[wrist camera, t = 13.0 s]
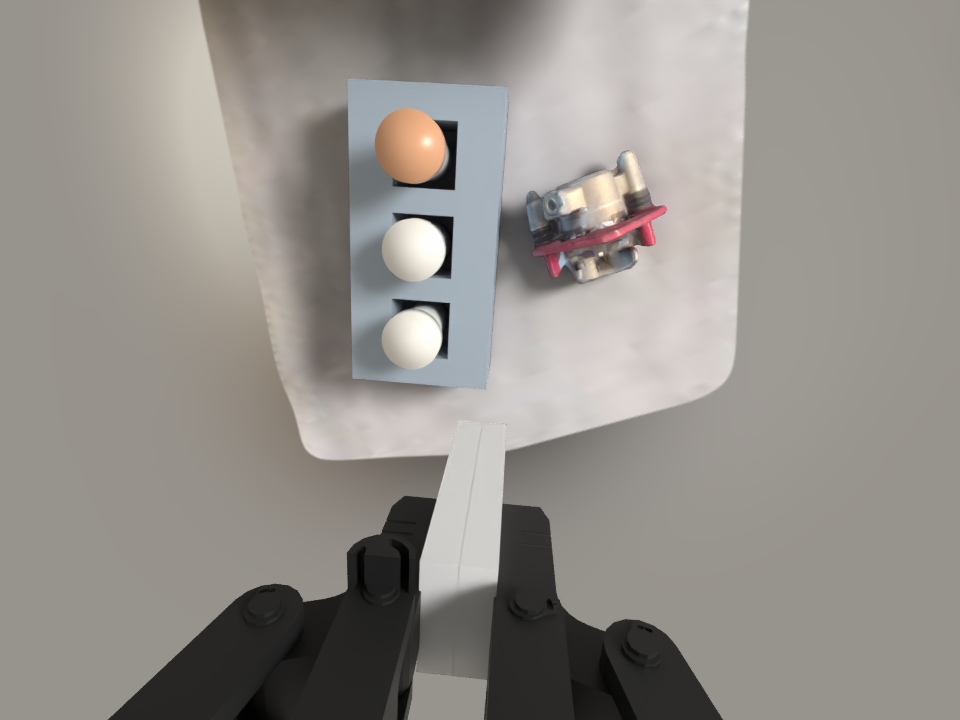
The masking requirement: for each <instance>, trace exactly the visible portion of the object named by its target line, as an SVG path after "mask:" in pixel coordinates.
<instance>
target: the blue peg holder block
mask: <svg viewBox="0 0 960 720" xmlns="http://www.w3.org/2000/svg"><path fill="white" fill-rule="evenodd" d="M403 108H412V109H417V110H420V111H422V112H424V113H425V114H427V115H428V116H429V117H431V118H432V119H433V120H434V121H435V122H436V123H437V124H438V126H439V127H440V129H441V130H442V132H443V135H444V137H445V141H446V142H447V143H448V145H449V146H450V149H451V152H452V164H451V167H450V169H449V171H448V172H447V174H446V175H445V176H443V177H442V178H440V179H438V180H433V181H429V180H428V181H426V182H423V183H419V184H411V183H405V182H401V181H398V180H396V179H394V178H392V177H391V176H389V175H388V174H387V173H386V172H385V171H384V170H383V168H382V167H381V165H380V163H379V161H378V159H377V156H376V152H375V137H376V133H377V130H378V127H379V125H380V124H381V122H382V121H383V120H384V118H385V117H387V116H388V115H389V114H390V113H392V112H394V111H396V110H399V109H403ZM507 118H508V95H507V87H502V86H483V85H464V84H446V83H427V82H408V81H389V80H370V79H351V78H348V142H349V206H350V269H351V333H352V378H354V379H366V380H377V381H389V382H401V383H413V384H425V385H437V386H449V387H461V388H473V389H485V390H486V385H487V379H488V373H489V368H490V357H491V343H492V329H493V315H494V301H495V287H496V273H497V259H498V245H499V231H500V217H501V203H502V189H503V175H504V161H505V146H506V132H507ZM411 218H420V219H424V220H427V221H429V222H437V223H440V224H441V225H443V226H444V227H445V228H446V229H447V230H448V232H449V234H450V237H451V249H450V251H449V253H448V254H447V256H446V257H445V259H444V262H443V264H442V266H441V267H440V268H439V270H438V271H437V272H436V273H434V274H433V275H432V276H431V277H429V278H427V279H425V280H423V281H418V282H410V281H405V280H402V279H400V278H398V277H397V276H395V275H394V274H393V273H392V272H391V271H390V270H389V269H388V267H387V266H386V264H385V262H384V259H383V255H382V242H383V239H384V236H385V234H386V232H387V231H388V229H389V228H390V227H391V226H392V225H394V224H395V223H397V222H399V221H401V220H404V219H411ZM419 301H431V302H440V303H441V304H442V305H443V306H444V307H445V309H446V311H447V313H448V323H447V325H446V327H445V329H444V331H443V332H442V344H441V347H440V350H439V352H438V353H437V355H436V357H435V358H434V360H433V361H432V362H431V363H430V364H428V365H427V366H425V367H423V368H420V369H405V368H402V367H399V366H397V365H396V364H394V363H393V362H392V361H391V360H390V359H389V358H388V357H387V355H386V354H385V352H384V350H383V347H382V332H383V329H384V327H385V325H386V324H387V323H388V321H389V320H390V319H392V318H393V317H394V316H395V315H396V314H397V313H399V312H401V311H403V310H406V309H411V308H412V307H413V306H414V305H415V304H416V303H417V302H419Z"/></svg>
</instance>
